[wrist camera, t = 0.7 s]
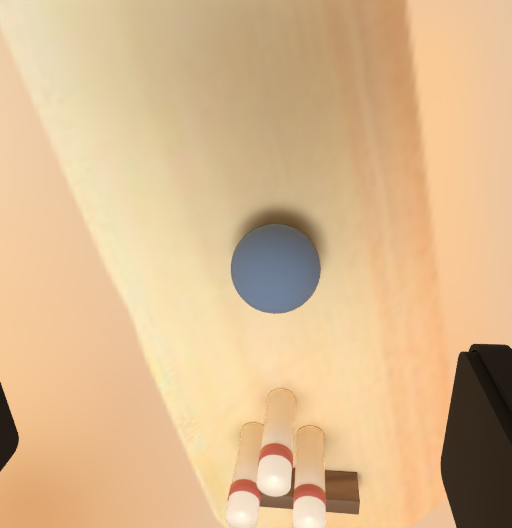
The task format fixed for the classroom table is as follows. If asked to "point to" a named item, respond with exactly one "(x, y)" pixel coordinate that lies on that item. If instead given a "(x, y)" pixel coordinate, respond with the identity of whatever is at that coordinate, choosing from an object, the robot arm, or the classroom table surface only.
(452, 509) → the robot arm
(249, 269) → the ball
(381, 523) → the classroom table surface
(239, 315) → the classroom table surface
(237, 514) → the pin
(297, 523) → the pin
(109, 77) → the classroom table surface
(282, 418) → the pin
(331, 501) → the bar
